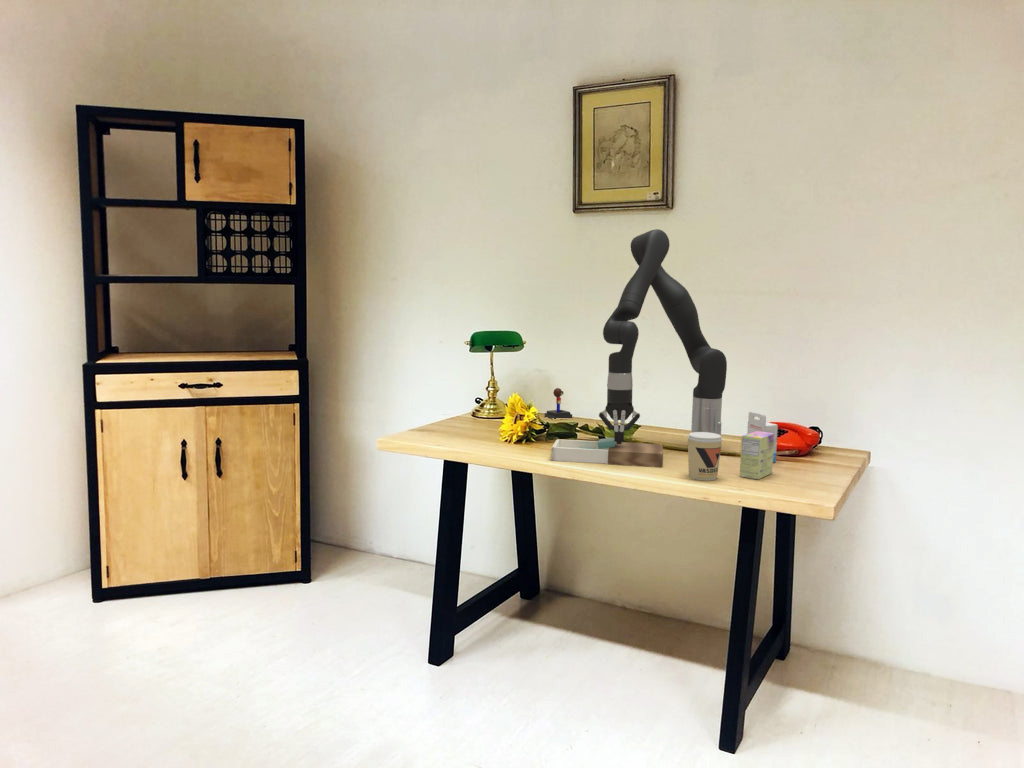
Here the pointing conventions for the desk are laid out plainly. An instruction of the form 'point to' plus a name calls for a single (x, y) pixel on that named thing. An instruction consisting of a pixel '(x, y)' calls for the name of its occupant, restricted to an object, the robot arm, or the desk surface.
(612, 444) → the tile
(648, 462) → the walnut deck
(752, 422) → the ink box
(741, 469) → the box
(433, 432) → the desk surface
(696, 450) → the coffee cup
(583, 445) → the tray
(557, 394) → the figurine
